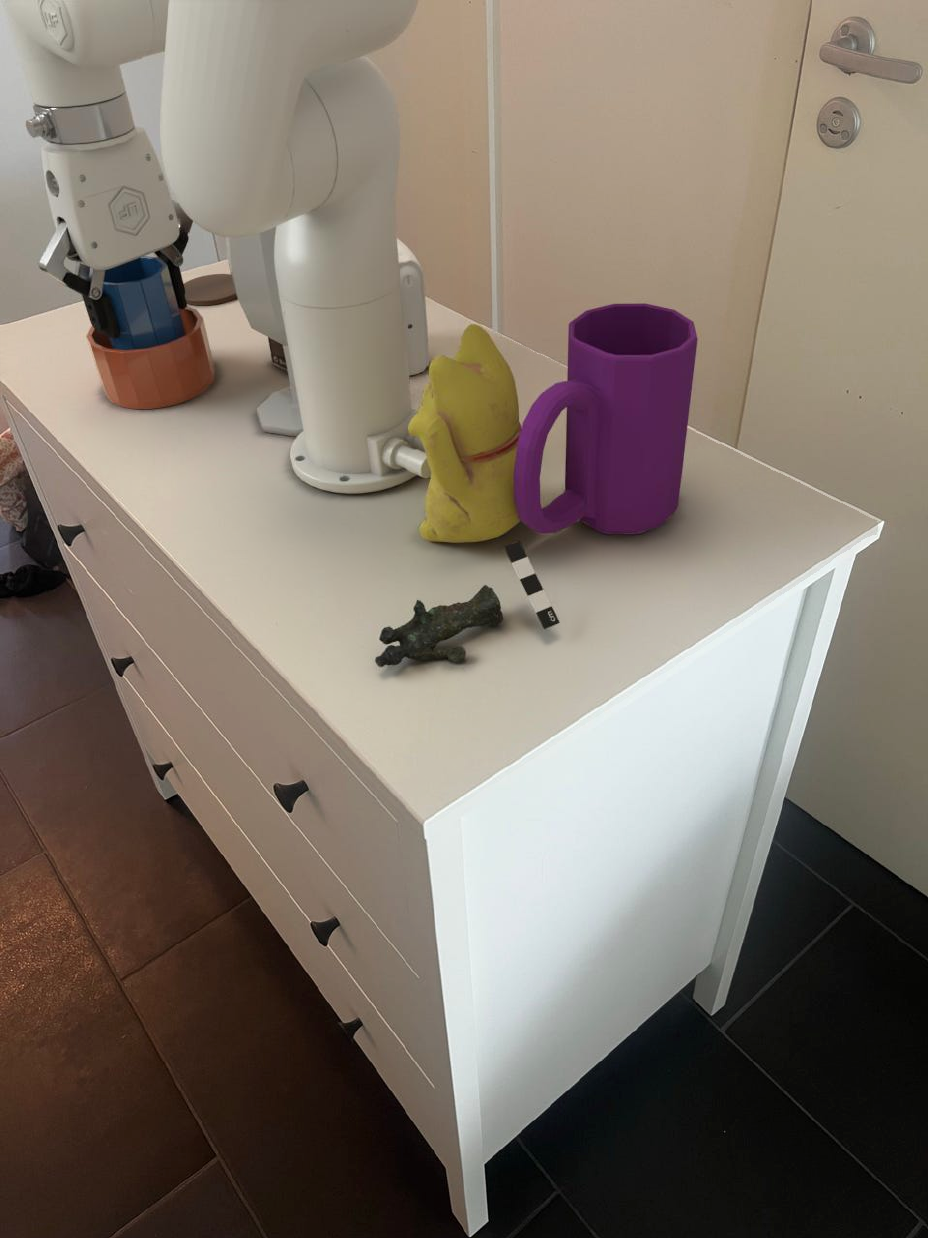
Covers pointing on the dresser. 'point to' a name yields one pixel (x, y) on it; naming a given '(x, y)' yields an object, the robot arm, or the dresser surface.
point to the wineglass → (265, 320)
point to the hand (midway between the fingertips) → (142, 318)
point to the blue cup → (143, 304)
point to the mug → (613, 422)
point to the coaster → (210, 290)
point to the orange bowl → (156, 367)
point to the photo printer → (413, 310)
